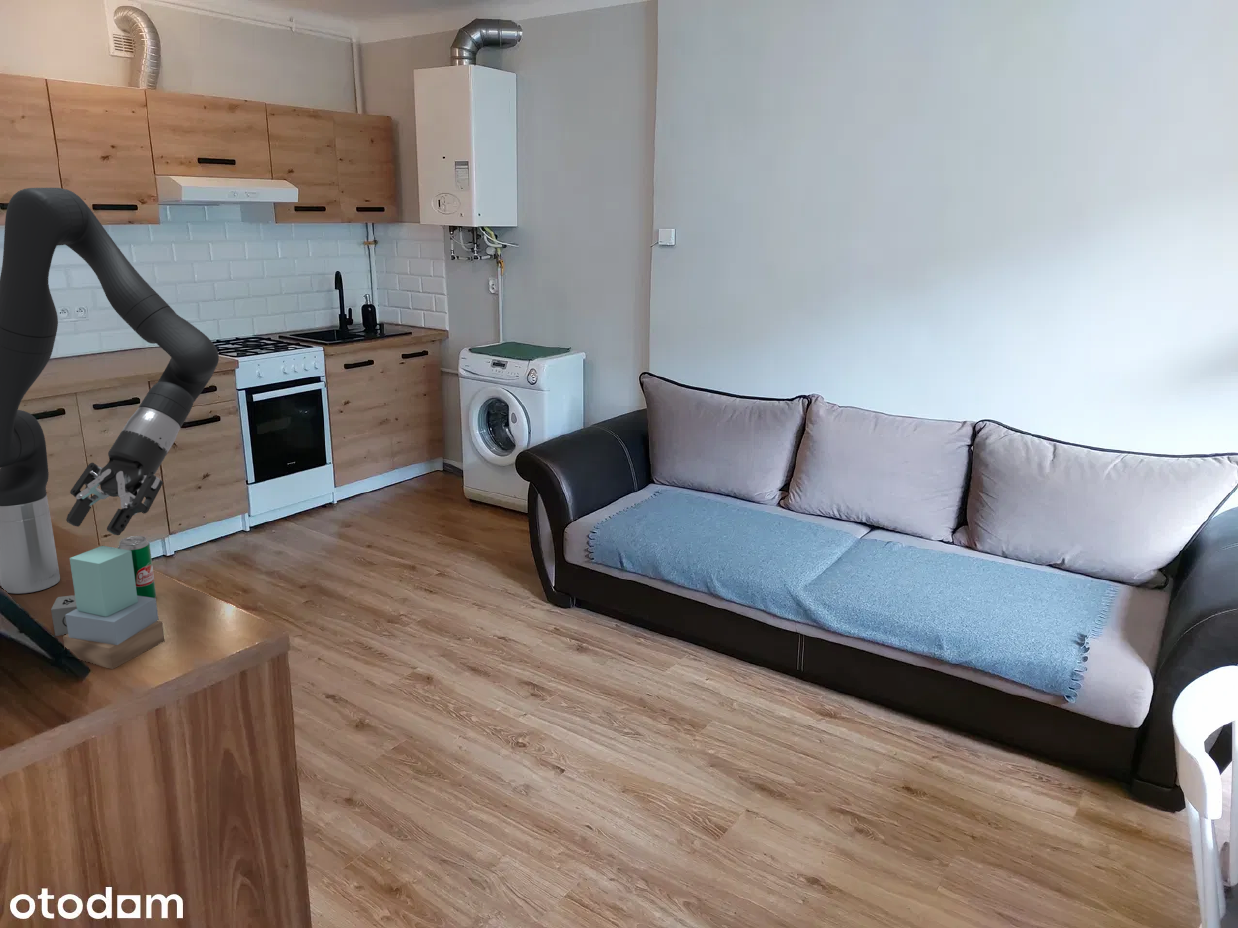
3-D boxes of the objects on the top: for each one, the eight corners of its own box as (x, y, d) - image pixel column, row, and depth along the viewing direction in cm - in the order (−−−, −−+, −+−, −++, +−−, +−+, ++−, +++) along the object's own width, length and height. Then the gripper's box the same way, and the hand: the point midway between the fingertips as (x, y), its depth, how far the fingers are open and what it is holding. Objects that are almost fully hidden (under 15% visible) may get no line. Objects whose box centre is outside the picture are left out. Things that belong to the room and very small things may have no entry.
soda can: (143, 608, 154) (134, 546, 151) (118, 604, 155) (110, 543, 152) (162, 596, 159) (155, 536, 156) (139, 593, 160) (131, 533, 157)
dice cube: (61, 623, 148) (57, 597, 147) (94, 619, 150) (90, 593, 149) (55, 636, 144) (50, 609, 142) (89, 632, 146) (85, 605, 144)
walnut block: (66, 658, 138) (62, 636, 137) (120, 631, 147) (117, 610, 146) (112, 671, 134) (109, 648, 133) (165, 643, 143) (162, 621, 142)
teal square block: (77, 610, 136) (69, 558, 134) (109, 596, 142) (102, 545, 139) (106, 616, 135) (98, 563, 132) (137, 601, 140) (131, 550, 138)
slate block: (68, 637, 136) (65, 614, 135) (112, 613, 145) (109, 591, 144) (117, 645, 134) (113, 622, 133) (158, 619, 143) (155, 598, 142)
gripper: (96, 423, 140) (40, 511, 133) (163, 434, 135) (109, 525, 128) (128, 447, 146) (76, 531, 139) (193, 458, 142) (143, 546, 134)
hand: (92, 528), depth 133 cm, fingers open, 8 cm apart
